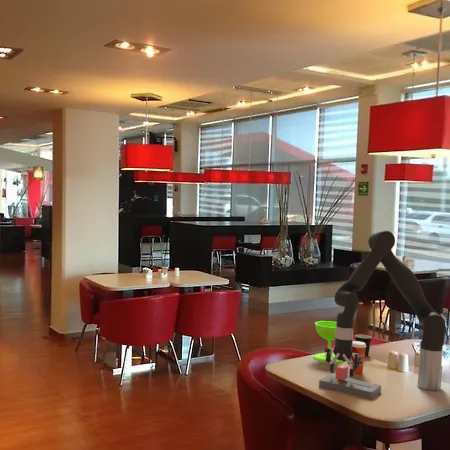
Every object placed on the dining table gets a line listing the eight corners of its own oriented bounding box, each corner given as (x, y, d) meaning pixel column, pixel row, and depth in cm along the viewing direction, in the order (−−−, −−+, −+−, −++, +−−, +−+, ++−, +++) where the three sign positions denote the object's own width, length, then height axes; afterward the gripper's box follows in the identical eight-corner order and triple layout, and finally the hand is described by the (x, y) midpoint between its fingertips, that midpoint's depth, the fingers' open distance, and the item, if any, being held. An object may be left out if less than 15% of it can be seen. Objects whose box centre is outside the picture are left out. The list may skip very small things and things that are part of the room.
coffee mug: (358, 351, 303) (359, 333, 303) (373, 355, 298) (374, 336, 298) (348, 355, 294) (349, 336, 294) (363, 359, 289) (364, 340, 289)
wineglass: (342, 365, 275) (344, 329, 274) (310, 360, 280) (312, 325, 279) (346, 357, 290) (348, 323, 289) (315, 353, 295) (317, 319, 294)
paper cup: (360, 375, 259) (362, 345, 259) (345, 371, 264) (347, 342, 263) (367, 372, 265) (369, 343, 265) (352, 368, 270) (354, 339, 269)
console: (380, 392, 236) (381, 385, 236) (371, 399, 226) (372, 392, 226) (329, 380, 248) (330, 373, 248) (318, 387, 238) (319, 379, 238)
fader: (347, 379, 240) (348, 366, 240) (343, 381, 236) (343, 368, 236) (339, 377, 242) (340, 364, 242) (335, 380, 238) (336, 367, 238)
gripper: (363, 338, 238) (360, 376, 238) (331, 333, 246) (329, 369, 246) (357, 341, 232) (354, 380, 232) (324, 335, 239) (322, 373, 240)
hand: (341, 374), depth 239 cm, fingers open, 8 cm apart
